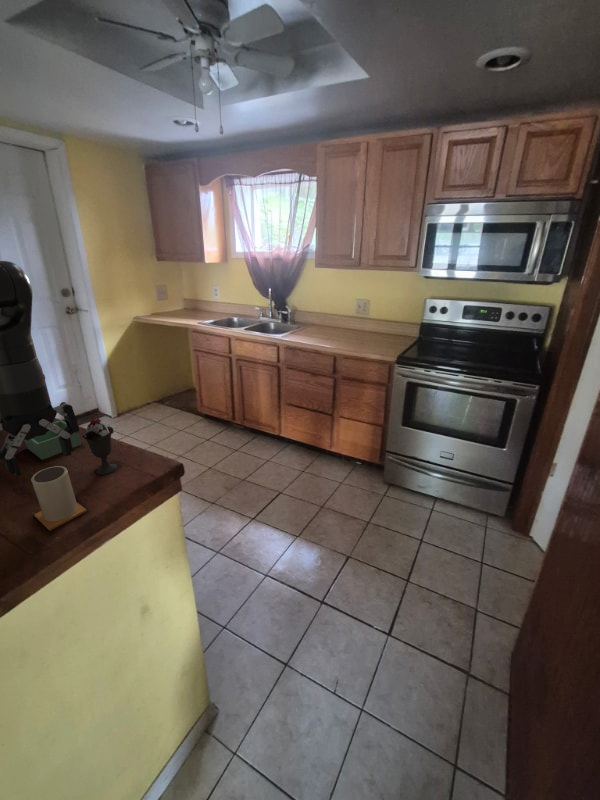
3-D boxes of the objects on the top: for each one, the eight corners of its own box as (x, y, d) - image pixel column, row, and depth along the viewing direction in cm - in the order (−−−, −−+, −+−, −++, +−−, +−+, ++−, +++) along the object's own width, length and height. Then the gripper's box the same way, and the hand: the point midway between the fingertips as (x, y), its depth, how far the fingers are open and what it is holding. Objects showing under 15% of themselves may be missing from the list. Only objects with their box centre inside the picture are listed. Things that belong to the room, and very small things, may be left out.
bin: (42, 461, 93) (37, 444, 91) (27, 449, 98) (21, 432, 96) (82, 446, 100) (77, 429, 98) (65, 435, 105) (61, 419, 103)
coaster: (49, 531, 71) (49, 529, 71) (34, 516, 75) (33, 514, 75) (86, 511, 76) (86, 509, 76) (70, 498, 80) (70, 496, 80)
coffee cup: (51, 526, 72) (38, 487, 68) (38, 513, 75) (25, 475, 71) (83, 509, 76) (72, 472, 72) (69, 498, 79) (58, 462, 76)
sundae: (111, 458, 95) (99, 405, 89) (126, 467, 91) (114, 412, 85) (85, 470, 90) (70, 414, 84) (100, 480, 86) (85, 422, 80)
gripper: (54, 369, 71) (73, 443, 78) (-40, 390, 61) (-10, 473, 67) (72, 378, 67) (90, 455, 74) (-26, 402, 57) (5, 489, 63)
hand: (42, 463), depth 70 cm, fingers open, 8 cm apart
